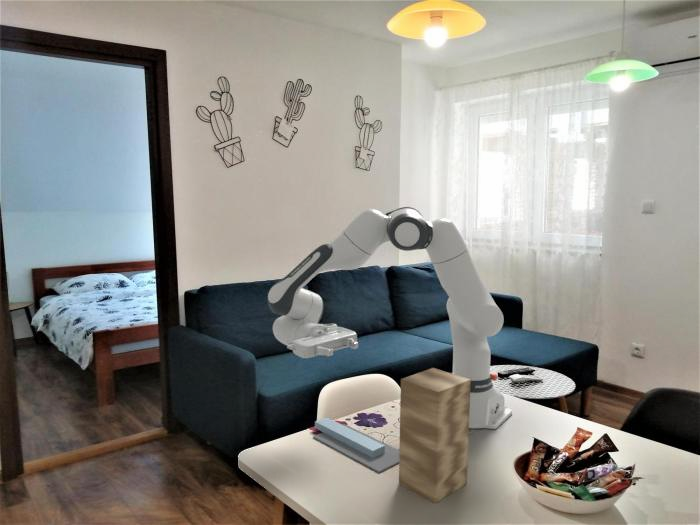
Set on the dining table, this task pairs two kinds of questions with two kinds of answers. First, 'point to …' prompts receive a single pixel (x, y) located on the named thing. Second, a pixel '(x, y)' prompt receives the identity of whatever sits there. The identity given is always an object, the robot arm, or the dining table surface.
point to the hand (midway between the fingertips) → (344, 349)
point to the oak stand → (434, 433)
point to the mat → (374, 463)
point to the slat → (350, 437)
